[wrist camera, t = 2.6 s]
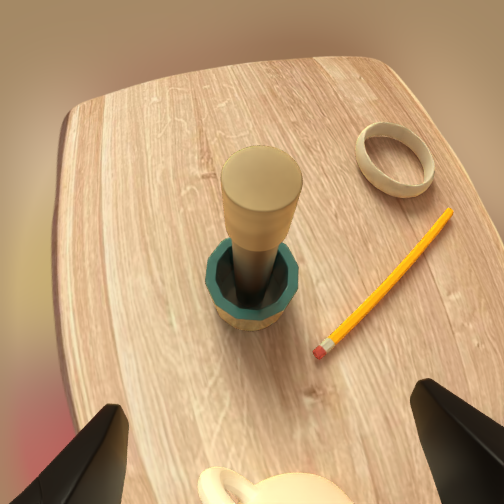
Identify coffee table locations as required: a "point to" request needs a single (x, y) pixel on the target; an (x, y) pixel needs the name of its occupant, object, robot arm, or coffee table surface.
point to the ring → (380, 178)
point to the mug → (268, 489)
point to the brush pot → (224, 289)
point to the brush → (258, 213)
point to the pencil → (381, 288)
